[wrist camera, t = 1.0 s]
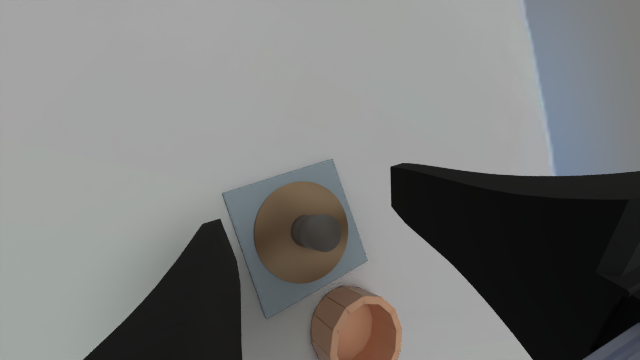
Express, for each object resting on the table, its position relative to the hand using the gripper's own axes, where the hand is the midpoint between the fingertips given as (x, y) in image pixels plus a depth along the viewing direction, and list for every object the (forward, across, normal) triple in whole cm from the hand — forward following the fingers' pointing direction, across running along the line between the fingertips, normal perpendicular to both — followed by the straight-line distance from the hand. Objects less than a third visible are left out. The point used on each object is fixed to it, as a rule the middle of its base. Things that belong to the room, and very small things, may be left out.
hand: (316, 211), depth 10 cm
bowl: (+7, -2, +18) cm, 19 cm away
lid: (+10, -1, +8) cm, 13 cm away
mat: (+11, -1, +9) cm, 14 cm away
